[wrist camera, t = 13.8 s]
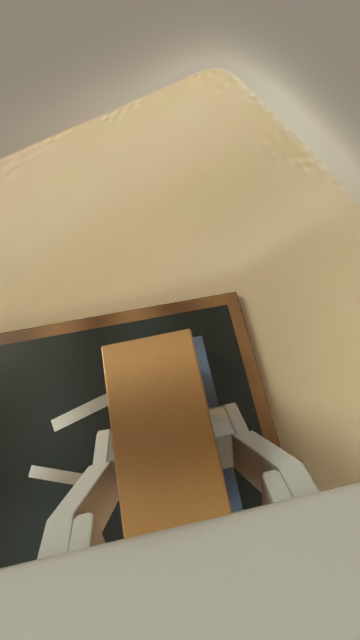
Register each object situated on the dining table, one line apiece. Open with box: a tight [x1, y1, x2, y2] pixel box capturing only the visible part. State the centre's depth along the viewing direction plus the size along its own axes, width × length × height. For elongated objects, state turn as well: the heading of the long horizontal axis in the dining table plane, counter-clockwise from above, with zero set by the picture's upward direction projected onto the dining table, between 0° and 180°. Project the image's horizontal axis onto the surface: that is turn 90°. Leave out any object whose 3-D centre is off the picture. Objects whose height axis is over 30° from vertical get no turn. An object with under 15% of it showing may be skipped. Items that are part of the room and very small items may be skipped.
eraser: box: [101, 329, 243, 539], centre depth 12 cm, size 10×5×9 cm, turn 11°
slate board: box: [0, 292, 280, 568], centre depth 17 cm, size 20×16×1 cm
